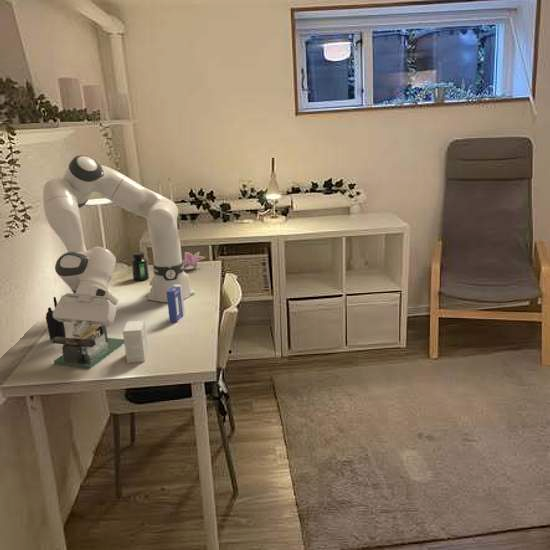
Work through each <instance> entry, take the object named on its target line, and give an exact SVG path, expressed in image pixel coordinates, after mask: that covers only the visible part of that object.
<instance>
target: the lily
mask: <svg viewBox="0 0 550 550" xmlns="http://www.w3.org/2000/svg"><path fill="white" fill-rule="evenodd" d="M200 253H201V252H200V251H197V252H196V253H194V254H193V253H191V252H189V251H185V252H184V259H182V261H183V264H184V270H185V269H186V268H188V267H189V266H191V267H192V268H193V269H194V271H195V273H197V270H196V268H197V267H198V262H200V261H202V260H203V259H206V256H202V255H200Z"/></svg>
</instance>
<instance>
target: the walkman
mask: <svg viewBox="0 0 550 550" xmlns="http://www.w3.org/2000/svg"><path fill="white" fill-rule="evenodd" d="M167 301H168V302H167V307H168V316H169V322H170V323H178V322H179V321H180V320H181V319H182V318H183V317H184V316H185V315H184V314H186V313H185V305H184V299H183V293H182V285H174V286H173V287H172V288H170V289H169V290H168V291H167ZM180 318H181V319H180ZM179 319H180V320H179ZM178 320H179V321H178ZM177 321H178V322H177Z"/></svg>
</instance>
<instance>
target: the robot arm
mask: <svg viewBox="0 0 550 550" xmlns="http://www.w3.org/2000/svg"><path fill="white" fill-rule="evenodd" d="M42 191H43V193H42V198H43V199H42V200H43V201H42V202H43V203H42V204H43V210H44V214H45V218H46V221H47V222H48V224H49V226H50V228H51V229H52V231H54V233H55V234H56V236H58V238H59V239H60V240H61V242H62V243H63V244H64V246H65V249H66V250H67V252H65V253H63V254H62V255H60V256H59V257H58V258H57V260H56V263H55V266H54V270H55V273H56V274H57V275H58V277H59V278H60V279H62V281H63V282H64V283H65V284H66V285H67V286H68V287H69V288H70V290H71V291H72V293H67V292H66V293H65V294H63V295H61V296H60V299H59V300H58V302H57V306H56V307H55V306H54V309H53V311H54V312H53V318H54V319H56V320H57V321H59V322H64V323H70V326H71V330H70V331H71V332H70V335H71V336H72V337H73V336H78V337H82V335H83V332H84V331H85V330H86V329H87V328H88V327H89V324H91V325H93V326H101V325H105V326H106V327H107V326H108V327H109V326H111V325H112V324H113V323H114V320H115V317H116V313H117V305H118V304H119V299H118V298H117V297H116V296H115V295H113V293H111V292H110V291H108V290H109V289H108V288H109V283H110V281H112V278H113V275H114V272H115V268H116V263H117V259H116V258H117V257H116V256H115V255H114V253H113V252H112V251H111V250H109V249H107V248H106V247H103V246H94V247H93V248H90V249H88V247H87V244H86V240H85V237H84V232H83V225H82V220H81V214H80V209H81V208H82V207H84V206H85V205H86V203H87V202H88V201H89V198H90V197H91V195H92V194H93V192H96V193H99V194H100V195H101V196H103V197H105V199H107V200H109V201H111V202H112V203H114V204H115V205H117V206H119V207H121V208H122V209H124V210H125V211H127V212H129V213H133V214H135V215H138V216H140V217H143V218H145V219H146V222H147V228H148V233H149V238H150V244H151V251H152V258H153V264H152V269H153V274H154V275H153V277H152V278H151V279H150V280H149V285H150V286H151V288H150V291H149V293H148V296H147V300H149V301H156V302H159V303H168V301H167V291H168V290H169V289H170V288H172V287H173V286H174V285H182V293H183V300H185V299H188V298H189V297H190V296H193V295H195V294H196V291H195V290H194V289H192V288H191V286H190V285H191V284H190V276H189V275H188V274H187V273H186V272H185V269H184V264H183V257H182V248H181V240H180V235H179V227H178V216H179V208H178V206H177V204H175V202H174V201H173V200H171V199H169V198H167V197H165V196H163V195H161V194H159V193H157V192H155V191H153V190H151V189H149V188H147V187H145V186H143V185H142V184H140V183H138V182H137V181H134V180H133V179H131V178H130V177H128V176H127V175H125V174H123V173H121V172H120V171H118V170H115V169H113V168H111V167H108V166H106V165H101V164H99V162H98V161H97V160H96V159H94V158H93V157H91V156H89V155H81V154H80V155H76V156H74V157H73V158H72V160H71V161H69V164H68V167H67V169H66V171H65V172H64V174H63V177H62V178H61V177H53V178H51V179H49V180H47V182H45V184H44V186H43V190H42ZM80 324H81V326H80ZM78 327H79V329H78Z"/></svg>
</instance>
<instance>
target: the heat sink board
mask: <svg viewBox="0 0 550 550" xmlns="http://www.w3.org/2000/svg"><path fill="white" fill-rule="evenodd" d="M89 325H92V324H89ZM98 326H99V329H100V330H99V333H98V332H96V333H95V334H93V335H92V336H90V337H89V338H87V339H86V340H95V344H96V345H94V346H93V347H82V346H73V345H64V344H62V346H61V349H62V352H61V353H62V355H60V356H59V357H57V358H56V359H54V360H53V363H54V365H56V364H58V365H57V366H65V365H68V366H67V367H73V366H76V367H75V368H81V367H83V369H89V368H90V369H92V368H93V367H94V366H96V365H97V364H98V362H99V361H100V362H102V361H103V360H104V359H105V358H107V357H108V356H110V355H111V354H112V353H113V352H115V351H116V350H118V349H119V348H121V347H122V346H123V345H125V344H124V338H123V339H122V338H113V337H108V332H107V326H105V325H98ZM122 344H123V345H122ZM121 345H122V346H121ZM114 350H115V351H114ZM110 353H111V354H110ZM106 356H107V357H106ZM102 359H103V360H102ZM100 362H99V363H100ZM95 364H96V365H95ZM92 366H93V367H92ZM91 367H92V368H91Z"/></svg>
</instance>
